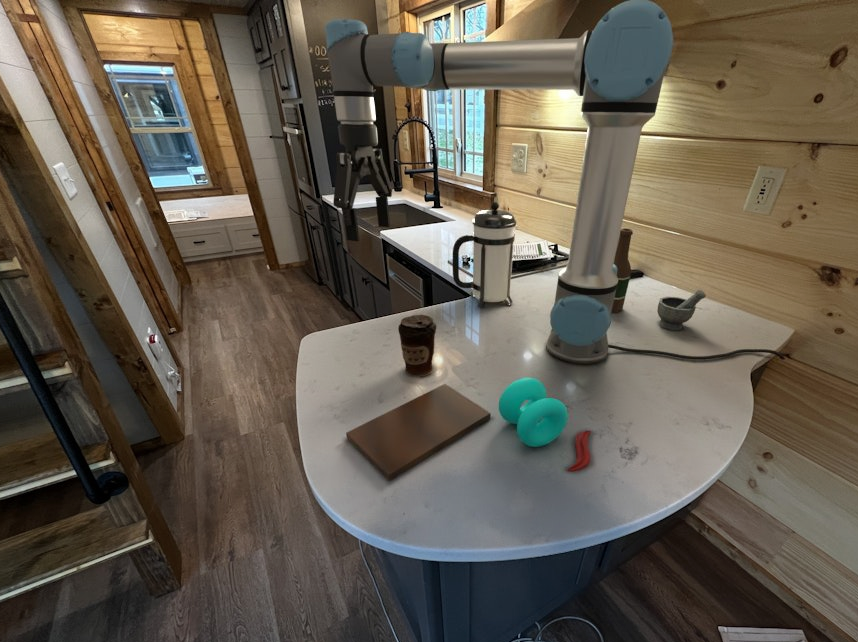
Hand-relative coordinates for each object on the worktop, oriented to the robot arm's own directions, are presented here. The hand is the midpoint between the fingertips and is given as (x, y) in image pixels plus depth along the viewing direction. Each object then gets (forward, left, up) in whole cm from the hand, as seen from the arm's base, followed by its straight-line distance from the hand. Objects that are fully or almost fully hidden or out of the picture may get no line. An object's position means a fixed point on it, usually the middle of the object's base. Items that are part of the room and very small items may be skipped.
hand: (369, 233), depth 92 cm
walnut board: (-24, +29, -28) cm, 47 cm away
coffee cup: (-15, +10, -28) cm, 33 cm away
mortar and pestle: (-74, -37, -28) cm, 88 cm away
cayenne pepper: (-54, +25, -28) cm, 66 cm away
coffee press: (-18, -36, -28) cm, 49 cm away
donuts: (-44, +23, -28) cm, 57 cm away
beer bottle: (-56, -44, -28) cm, 77 cm away
